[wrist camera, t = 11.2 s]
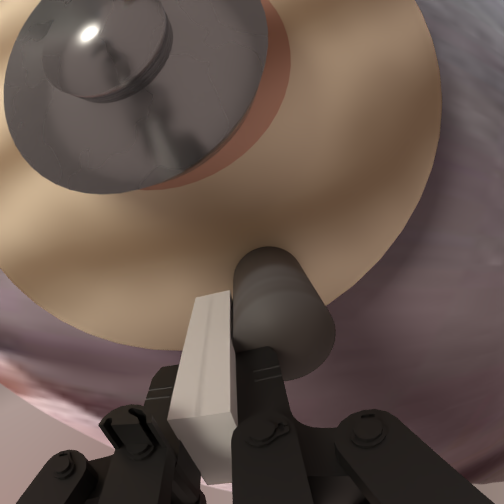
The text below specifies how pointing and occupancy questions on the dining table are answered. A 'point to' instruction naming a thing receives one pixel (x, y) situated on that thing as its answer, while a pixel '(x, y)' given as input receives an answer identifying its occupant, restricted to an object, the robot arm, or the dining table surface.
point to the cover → (131, 87)
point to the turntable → (246, 193)
